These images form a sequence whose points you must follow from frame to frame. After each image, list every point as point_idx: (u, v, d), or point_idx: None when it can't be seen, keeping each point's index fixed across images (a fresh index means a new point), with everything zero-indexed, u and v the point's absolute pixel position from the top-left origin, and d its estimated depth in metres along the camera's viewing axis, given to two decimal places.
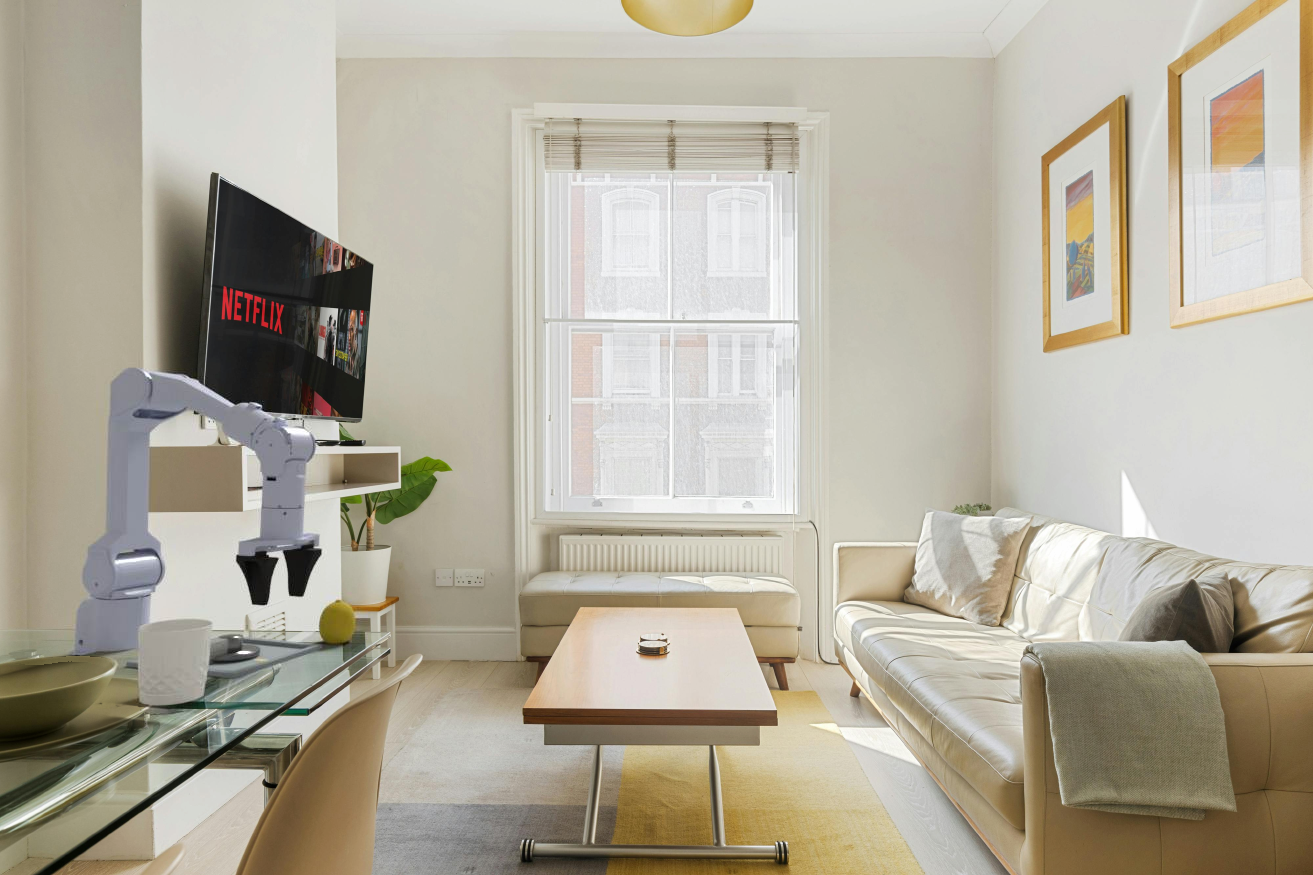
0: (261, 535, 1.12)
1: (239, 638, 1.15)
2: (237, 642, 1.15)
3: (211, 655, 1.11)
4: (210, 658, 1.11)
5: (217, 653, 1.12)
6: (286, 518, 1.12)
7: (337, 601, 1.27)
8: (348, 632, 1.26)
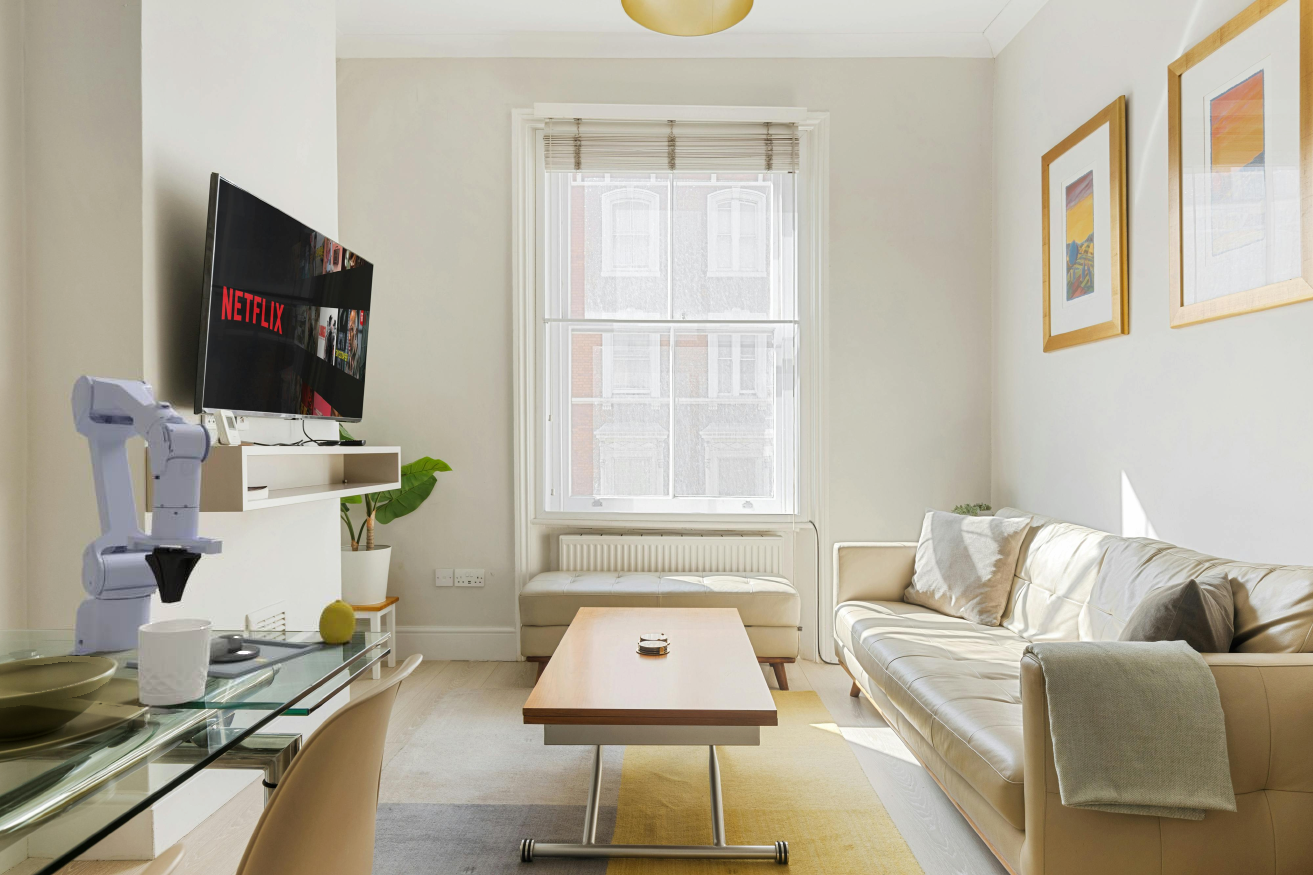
0: None
1: (239, 638, 1.15)
2: (237, 642, 1.15)
3: (211, 655, 1.11)
4: (210, 658, 1.11)
5: (217, 653, 1.12)
6: (152, 517, 1.10)
7: (337, 601, 1.27)
8: (348, 632, 1.26)
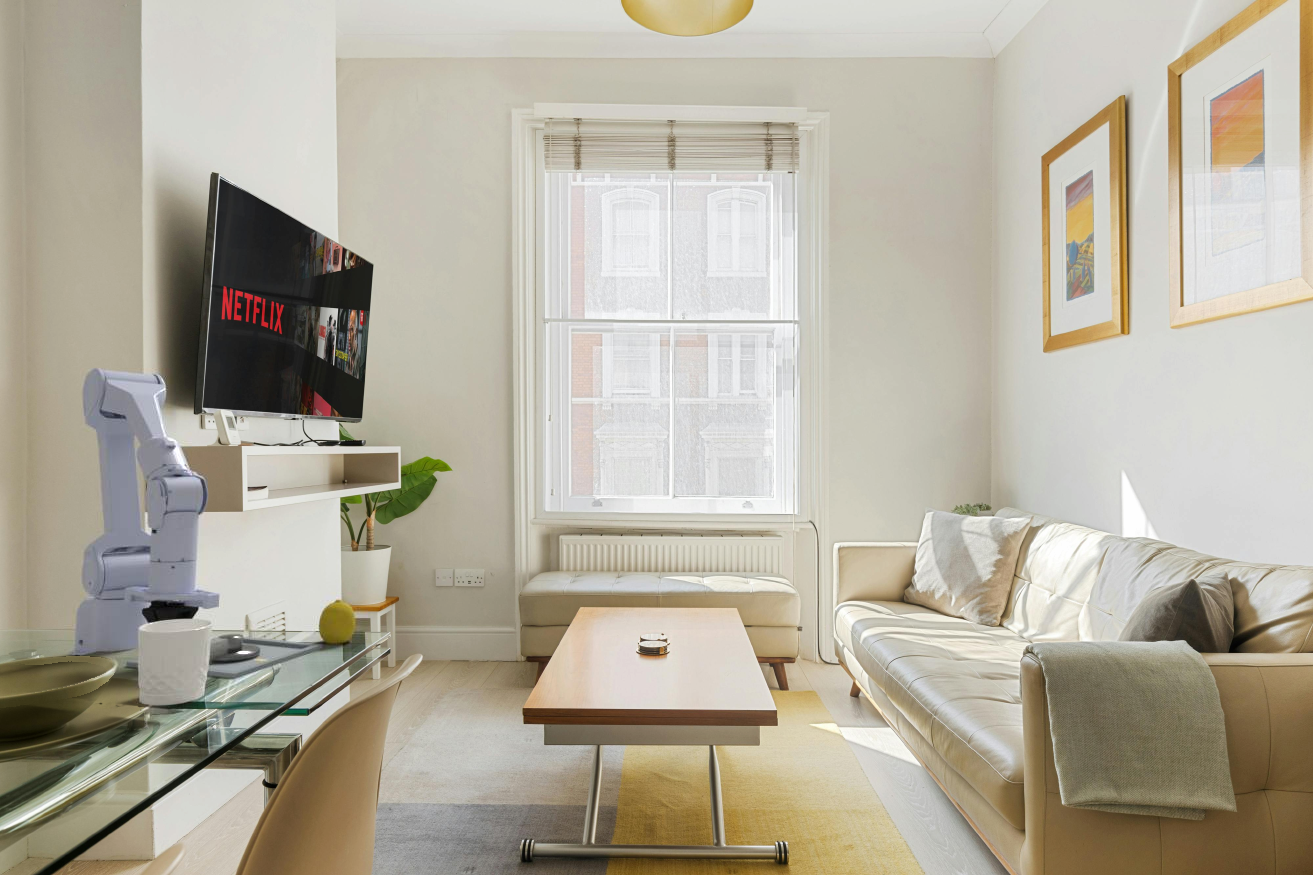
0: None
1: (239, 638, 1.15)
2: (237, 642, 1.15)
3: (211, 655, 1.11)
4: (210, 658, 1.11)
5: (217, 653, 1.12)
6: (149, 570, 1.09)
7: (337, 601, 1.27)
8: (348, 632, 1.26)
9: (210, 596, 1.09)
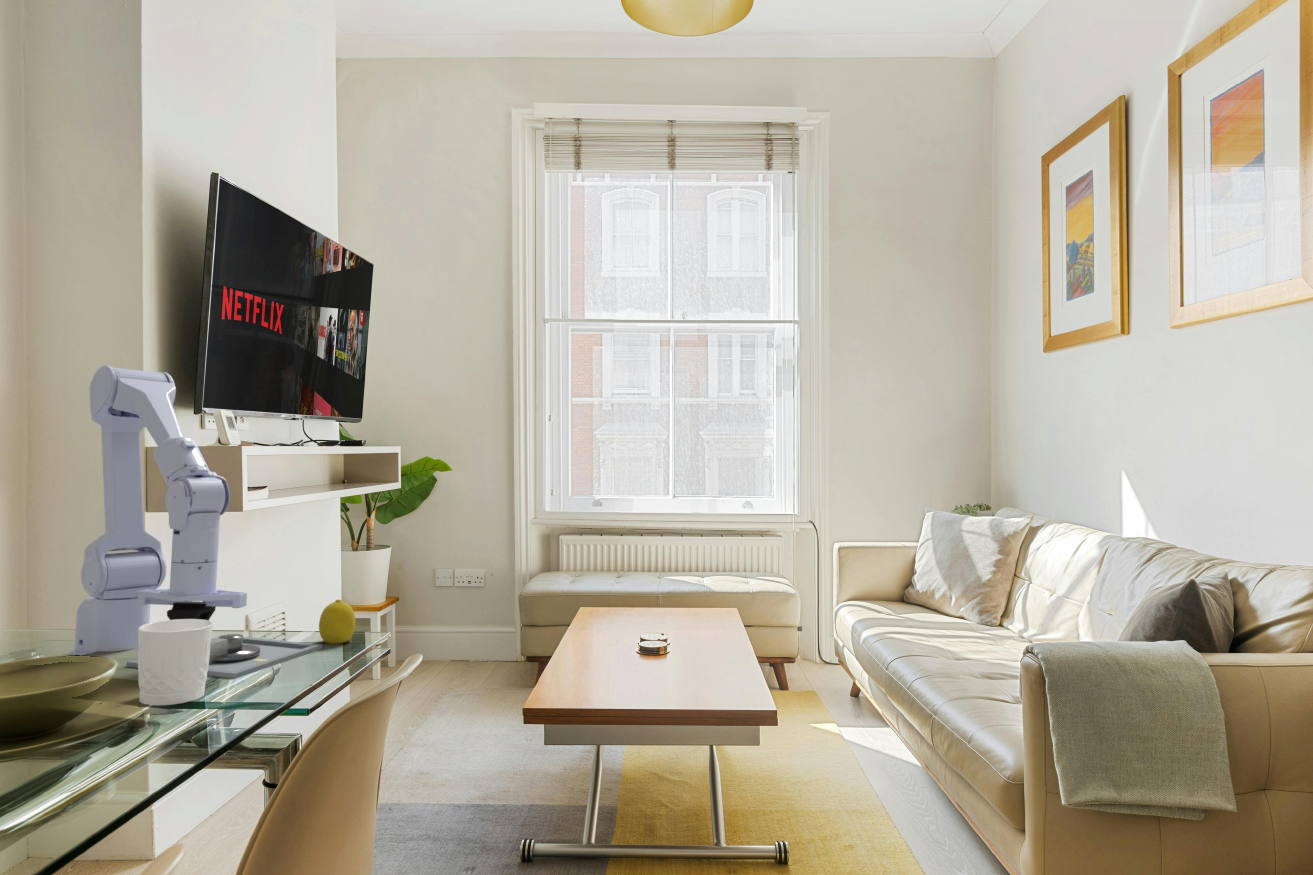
0: None
1: (239, 638, 1.15)
2: (237, 642, 1.15)
3: (211, 655, 1.11)
4: (210, 658, 1.11)
5: (217, 653, 1.12)
6: (171, 572, 1.09)
7: (337, 601, 1.27)
8: (348, 632, 1.26)
9: (240, 595, 1.10)
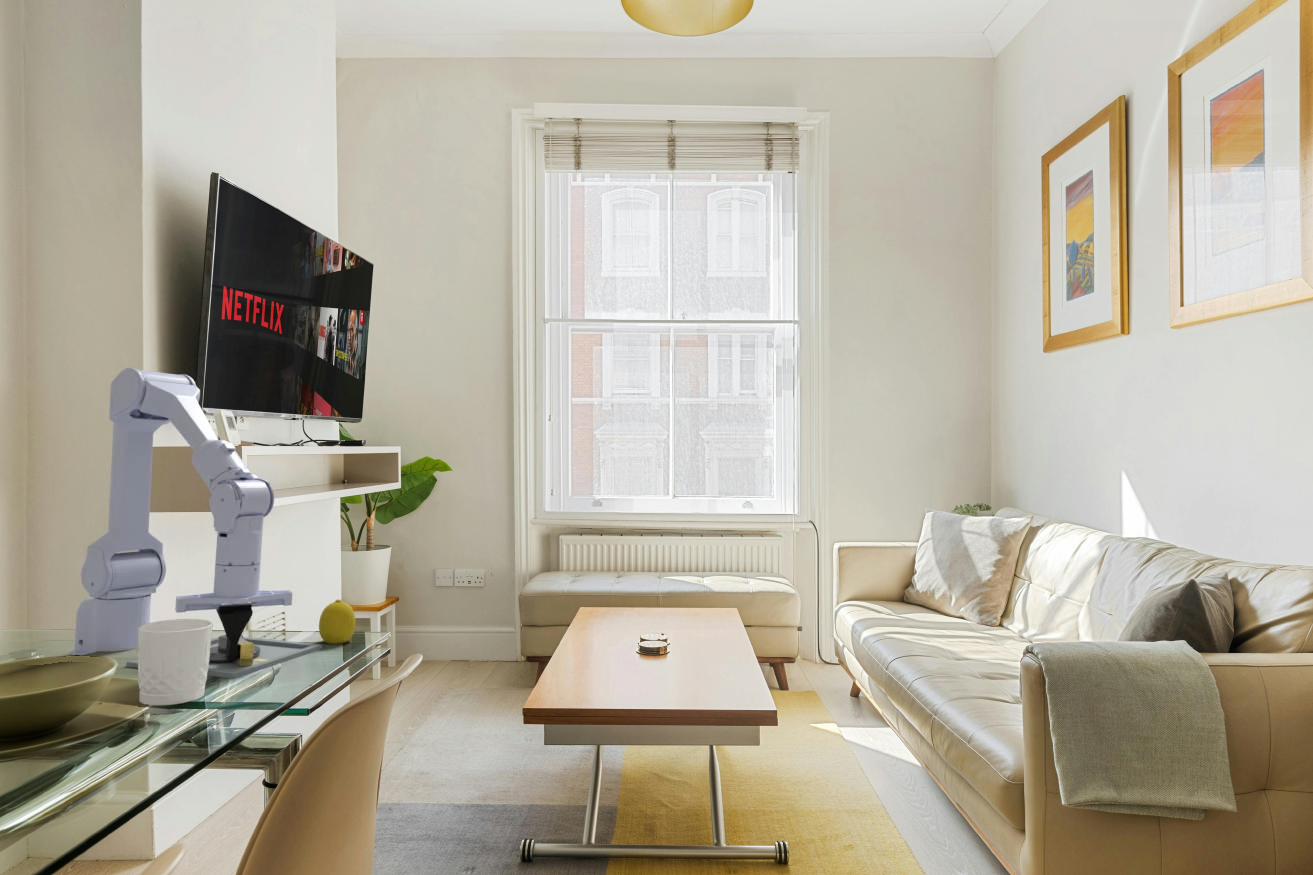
0: None
1: None
2: None
3: None
4: None
5: None
6: (225, 576, 1.08)
7: (337, 601, 1.27)
8: (348, 632, 1.26)
9: None
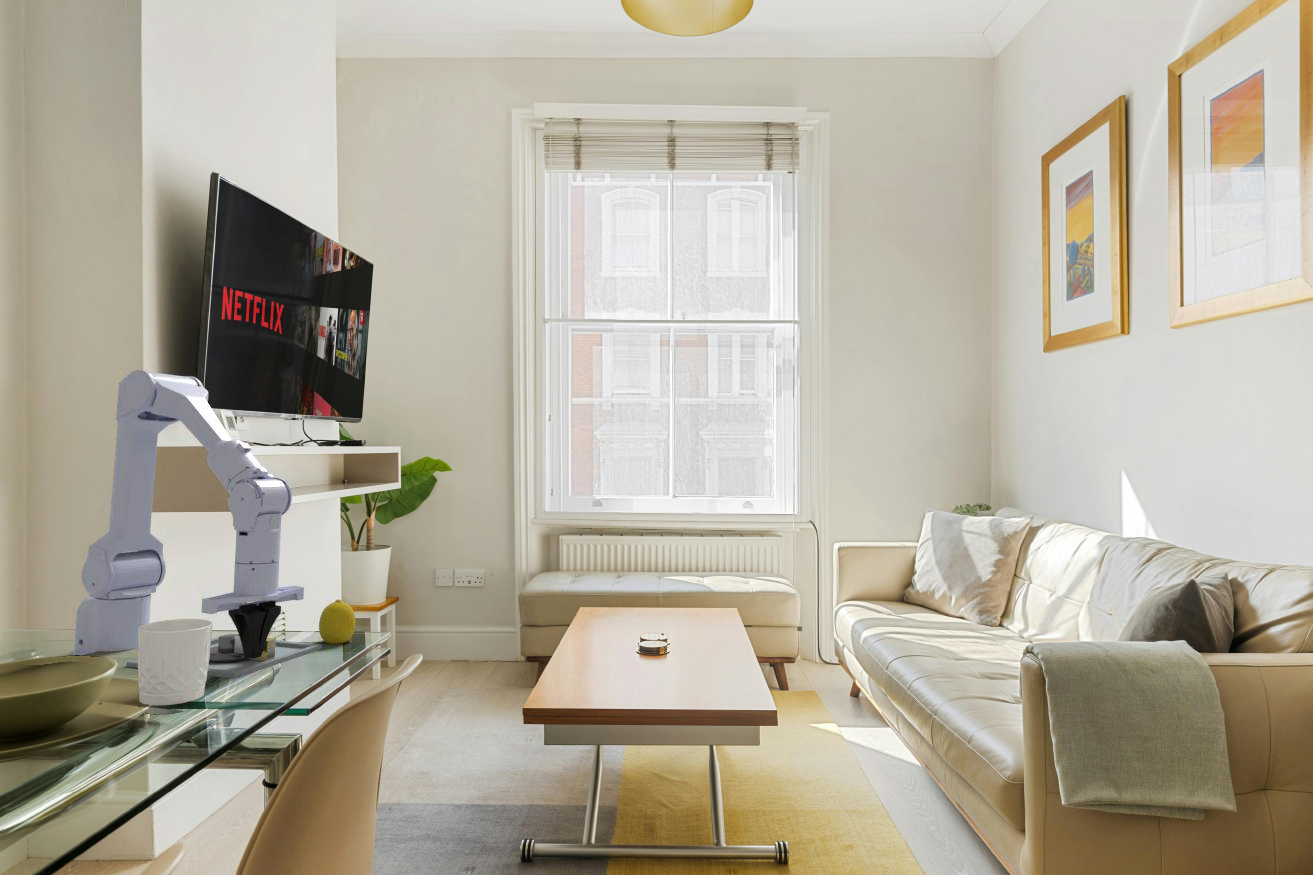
0: (233, 590, 1.10)
1: (238, 635, 1.17)
2: None
3: None
4: None
5: None
6: (254, 574, 1.09)
7: (337, 601, 1.27)
8: (348, 632, 1.26)
9: None
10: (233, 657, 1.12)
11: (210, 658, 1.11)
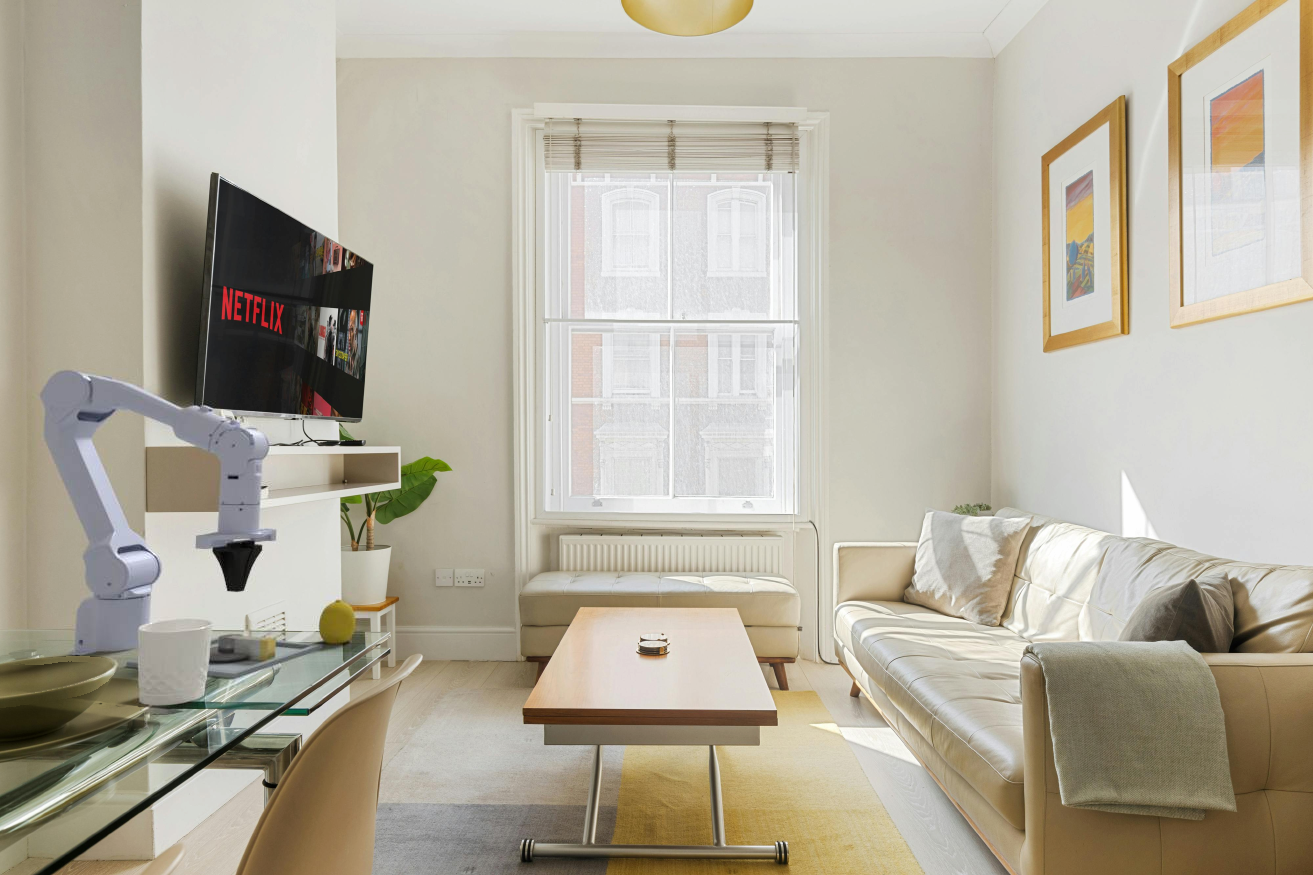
0: (218, 530, 1.20)
1: None
2: None
3: None
4: None
5: None
6: (242, 514, 1.20)
7: (337, 601, 1.27)
8: (348, 632, 1.26)
9: None
10: (233, 657, 1.12)
11: (210, 658, 1.11)
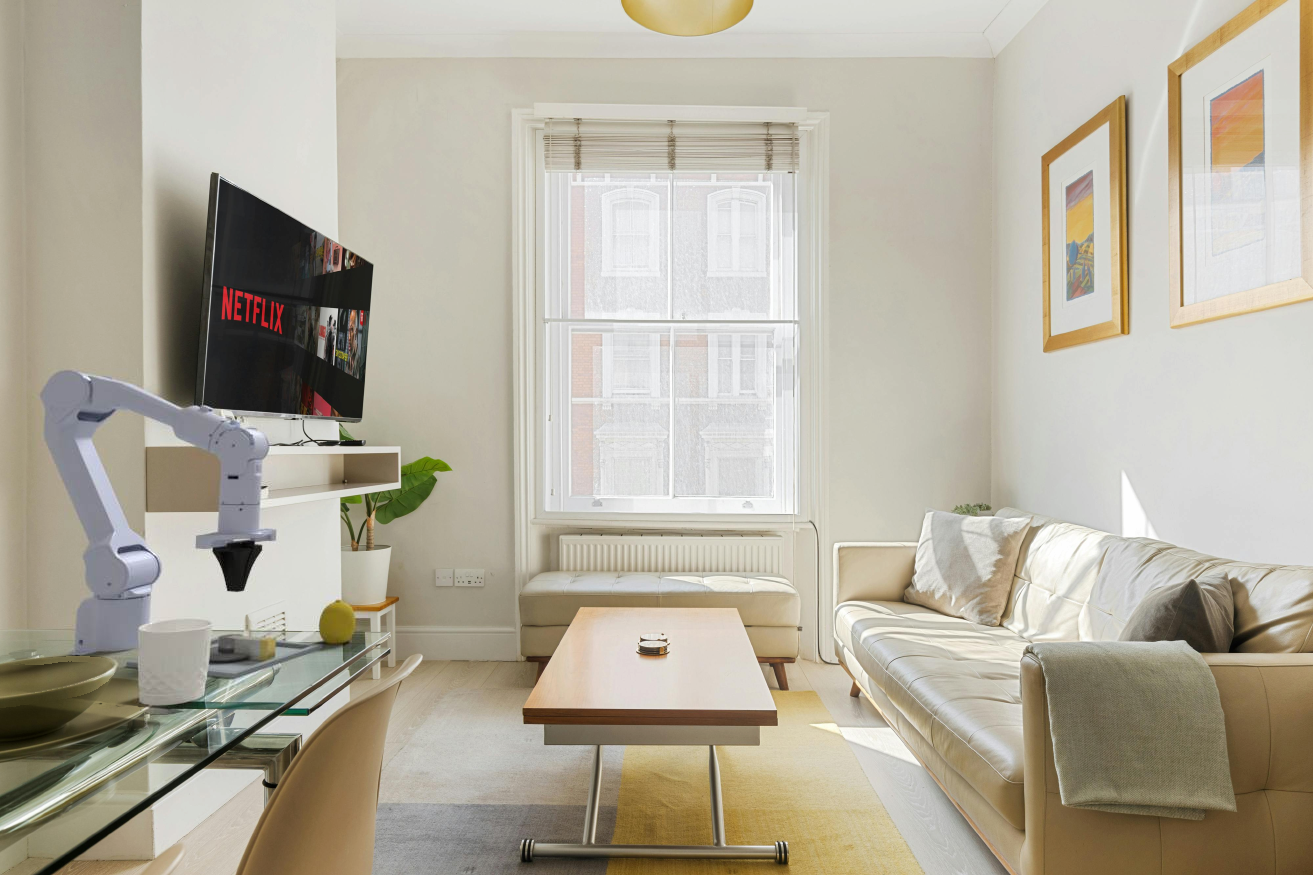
0: (218, 530, 1.20)
1: None
2: None
3: None
4: None
5: None
6: (242, 514, 1.20)
7: (337, 601, 1.27)
8: (348, 632, 1.26)
9: None
10: (233, 657, 1.12)
11: (210, 658, 1.11)
